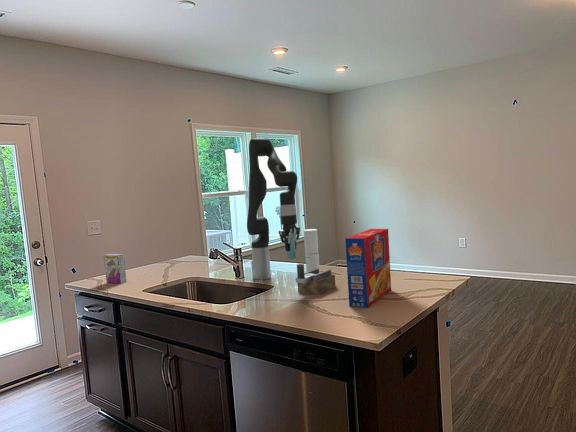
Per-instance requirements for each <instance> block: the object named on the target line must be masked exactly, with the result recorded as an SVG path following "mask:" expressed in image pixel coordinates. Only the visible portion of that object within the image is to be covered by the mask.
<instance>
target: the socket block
mask: <svg viewBox="0 0 576 432" xmlns="http://www.w3.org/2000/svg"><path fill="white" fill-rule="evenodd" d="M307 273H311V274H316V275H313V280H311V281H309V282H306V283H298V282H296V283H297V292H300V293H308V294H316V295H321V294H323V293H326V292H327V291H329V290H332V289H334V288H336V275H335V274H333V273H332V269H327V270H324V271H320V273H319V269H314V270H311V271H309V272H306V271H305V272H304V275H305V274H307Z"/></svg>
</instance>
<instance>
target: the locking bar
mask: <svg viewBox="0 0 576 432" xmlns="http://www.w3.org/2000/svg"><path fill="white" fill-rule="evenodd" d="M296 272H297V277H295V283H297V282H298V283H306V282H309V281H311V280H313V275H316V274H311V273H307V274H305V275H304V273H305V265H304V263H301V264H300V263H297V264H296Z"/></svg>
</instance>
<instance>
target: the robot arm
mask: <svg viewBox="0 0 576 432" xmlns="http://www.w3.org/2000/svg"><path fill="white" fill-rule="evenodd" d="M248 143H249V144H248V159H249V160H248V161H249V180H248V209H247V210H248V211H247V218H246V230H247V233H248V234H249V236H257V235H258V237H257V238H256V239H254V240H252V241H251V254H252V255H251V256H252V260H251V274H252V279H254V280H256V279H257V280H258V281H263V280H268V279H270V278H271V277H272V273H271V262H270V261H271V260H270V248H269V247H270V245H269V243H270V227H269V220H268V219H267V217H266V216H259V217H258V213H259V212H258V211H259V209H260V206H261V205H262V203H263V202H264V200H265V197H266V196H267V186H268V184H267V179H266V177H265V175H264V173H263V172H262V170H261V169H260V166H259V162H258V157H267V162H266V165H267V169H268V170H269V171H270V172H271V174H272V176H273V179H274V180H273V181H274V183H275V185H276V186H278V187H280V188H283V187H284V188H285V187H287V189H286V190H285V191H282V192H281V193H280V194H279V203H280V204H279V205H280V206H279V207H280V208H279V212H280V224H281V225H282V229H281V230H278V235H279V238H280V242H281V243H283V244H284V249H285V252H287V251H290V238H291V233H294V238H295V250H297V241H298V240H299V239H300V232H301V227H299V226H298V227H297V223H298V215H297V214H298V213H297V206H296V199H295V198H296V196H295V195H296V191H297V190H296V189H297V184H298V176H297V173H296V171H294V170H289V171H288V170H287V167H286V165H285V164H284V163H283V161H282V160H281V159H280V158H279V156H278V153H277V152H276V150H275V149H276V148H275V147H274V146H273V143H272V141H271V140H270V139H268V138H263V137H261V138H258V137H256V138H255V137H253V138H251V139H250V140H249V142H248ZM287 236H288V237H287ZM287 238H288V239H287Z"/></svg>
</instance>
